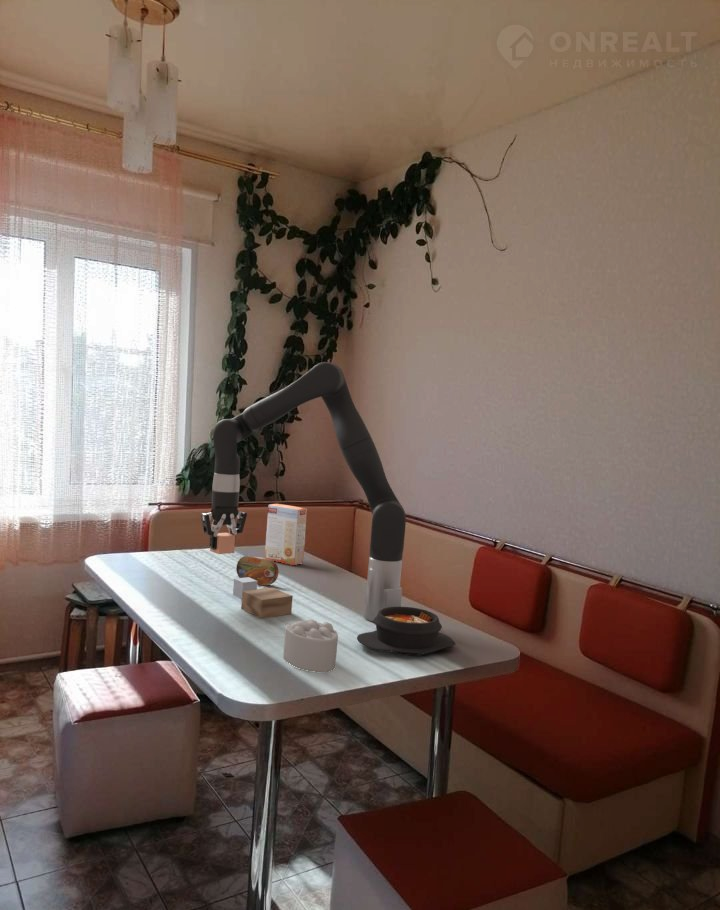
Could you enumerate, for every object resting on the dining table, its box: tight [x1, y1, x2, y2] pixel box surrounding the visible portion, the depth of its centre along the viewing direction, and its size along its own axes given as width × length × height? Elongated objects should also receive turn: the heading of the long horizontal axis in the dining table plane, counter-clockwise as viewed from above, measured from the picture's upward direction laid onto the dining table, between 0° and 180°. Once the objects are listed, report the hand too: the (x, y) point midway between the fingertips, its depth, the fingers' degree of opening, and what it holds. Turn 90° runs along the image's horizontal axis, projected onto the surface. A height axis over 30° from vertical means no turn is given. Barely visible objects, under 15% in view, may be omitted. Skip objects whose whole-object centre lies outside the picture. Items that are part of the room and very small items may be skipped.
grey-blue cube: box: [232, 577, 258, 600], centre depth 212 cm, size 5×5×5 cm
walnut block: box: [240, 587, 294, 619], centre depth 198 cm, size 10×10×5 cm
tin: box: [235, 555, 279, 587], centre depth 228 cm, size 15×3×8 cm, turn 62°
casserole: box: [356, 606, 456, 656], centre depth 176 cm, size 25×19×8 cm
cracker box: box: [264, 503, 308, 566], centre depth 262 cm, size 14×6×21 cm, turn 58°
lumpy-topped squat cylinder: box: [282, 619, 339, 673], centre depth 161 cm, size 10×13×9 cm
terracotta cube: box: [209, 532, 236, 555], centre depth 203 cm, size 5×5×5 cm
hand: (222, 548), depth 203 cm, fingers closed on terracotta cube, 5 cm apart
